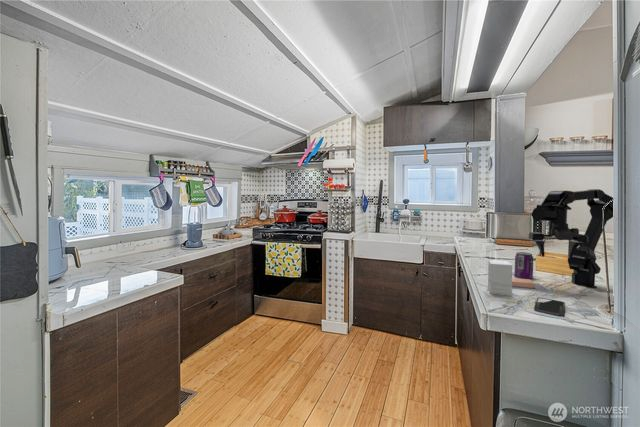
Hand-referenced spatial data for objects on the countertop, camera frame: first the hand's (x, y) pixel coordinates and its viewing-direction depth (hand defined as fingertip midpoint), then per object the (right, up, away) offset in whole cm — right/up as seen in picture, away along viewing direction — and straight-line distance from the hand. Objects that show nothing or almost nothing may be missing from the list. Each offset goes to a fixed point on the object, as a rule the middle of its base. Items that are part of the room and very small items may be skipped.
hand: (556, 257), depth 119 cm
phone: (-20, -15, -21) cm, 32 cm away
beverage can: (-3, -12, +15) cm, 20 cm away
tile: (-10, -11, 0) cm, 15 cm away
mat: (-13, -13, +1) cm, 18 cm away
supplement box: (-28, -14, -6) cm, 32 cm away
